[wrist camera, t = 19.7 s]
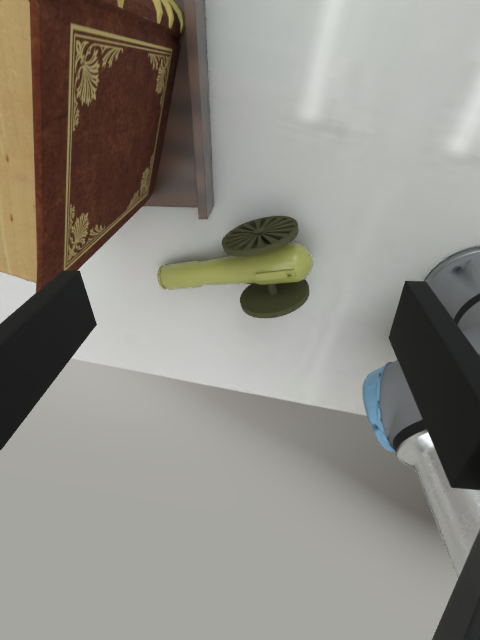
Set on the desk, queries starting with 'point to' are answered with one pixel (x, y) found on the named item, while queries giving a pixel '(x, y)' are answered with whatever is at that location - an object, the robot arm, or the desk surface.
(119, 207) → the decorative book
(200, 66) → the book rack
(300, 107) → the desk surface
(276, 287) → the cannon
